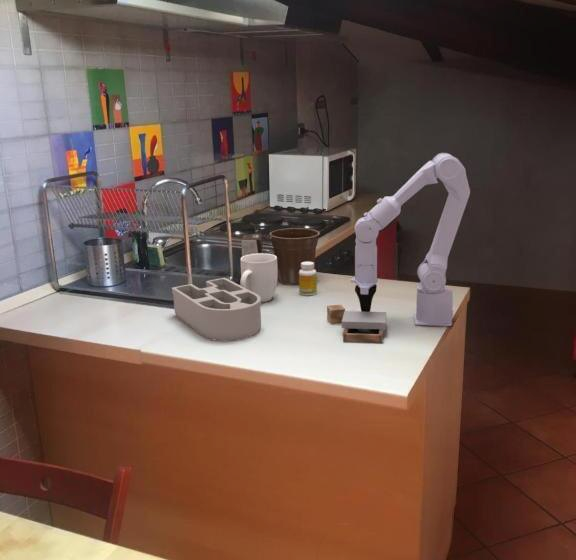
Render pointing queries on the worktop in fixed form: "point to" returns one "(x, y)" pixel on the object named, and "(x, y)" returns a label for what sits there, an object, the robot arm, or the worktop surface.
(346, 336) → the frame
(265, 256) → the mug
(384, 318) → the lid
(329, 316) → the beech block
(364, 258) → the robot arm
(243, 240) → the coffee box
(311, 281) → the supplement bottle
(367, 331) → the teal disc
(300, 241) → the plant pot
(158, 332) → the worktop surface
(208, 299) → the compartment caddy
